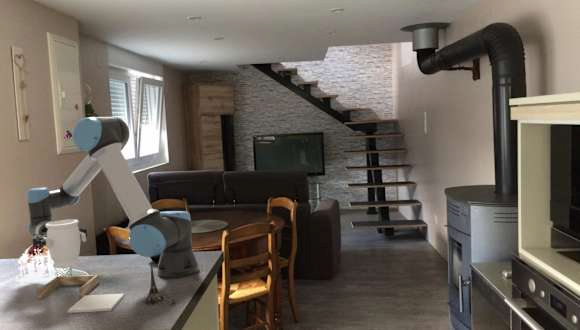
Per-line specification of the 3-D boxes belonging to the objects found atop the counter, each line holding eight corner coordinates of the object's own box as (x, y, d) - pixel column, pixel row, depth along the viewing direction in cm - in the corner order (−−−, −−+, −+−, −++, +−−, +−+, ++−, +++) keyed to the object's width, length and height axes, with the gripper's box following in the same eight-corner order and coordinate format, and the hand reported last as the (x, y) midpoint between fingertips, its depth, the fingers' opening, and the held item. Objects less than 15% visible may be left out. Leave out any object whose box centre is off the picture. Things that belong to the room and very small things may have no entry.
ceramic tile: (124, 295, 168) (124, 293, 168) (110, 310, 155) (110, 308, 155) (85, 297, 168) (85, 295, 168) (68, 312, 155) (67, 310, 155)
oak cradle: (99, 282, 184) (98, 274, 183) (82, 297, 169) (82, 288, 168) (58, 284, 184) (57, 276, 183) (37, 299, 169) (36, 290, 168)
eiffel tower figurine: (179, 306, 158) (176, 264, 156) (146, 314, 152) (143, 270, 151) (164, 293, 170) (161, 254, 169) (134, 300, 165) (130, 260, 164)
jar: (70, 269, 169) (65, 225, 167) (42, 269, 171) (38, 225, 169) (89, 260, 179) (85, 218, 178) (62, 260, 181) (58, 219, 180)
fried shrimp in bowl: (140, 254, 203) (150, 230, 219) (154, 275, 207) (163, 250, 223) (160, 245, 201) (168, 222, 218) (174, 266, 205) (182, 242, 222)
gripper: (82, 236, 195) (102, 244, 179) (15, 248, 181) (31, 259, 164) (80, 216, 195) (100, 223, 178) (13, 227, 180) (29, 236, 163)
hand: (67, 240), depth 171 cm, fingers closed on jar, 10 cm apart
